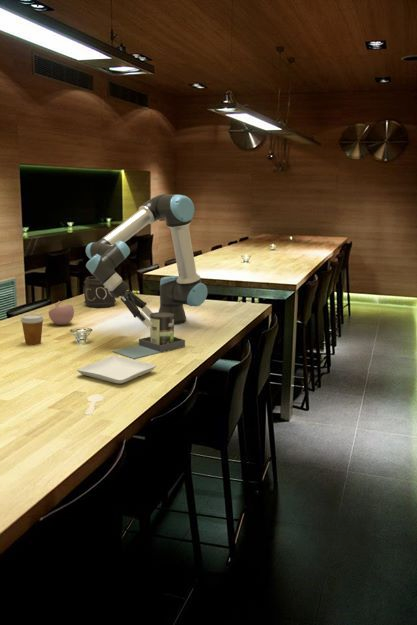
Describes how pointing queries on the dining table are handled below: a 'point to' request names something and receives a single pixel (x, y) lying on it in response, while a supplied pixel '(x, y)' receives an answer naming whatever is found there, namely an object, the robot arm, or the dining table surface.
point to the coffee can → (162, 328)
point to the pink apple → (61, 314)
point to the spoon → (93, 402)
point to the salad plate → (116, 369)
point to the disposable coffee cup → (32, 328)
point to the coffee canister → (97, 294)
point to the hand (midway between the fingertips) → (152, 321)
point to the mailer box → (149, 348)
